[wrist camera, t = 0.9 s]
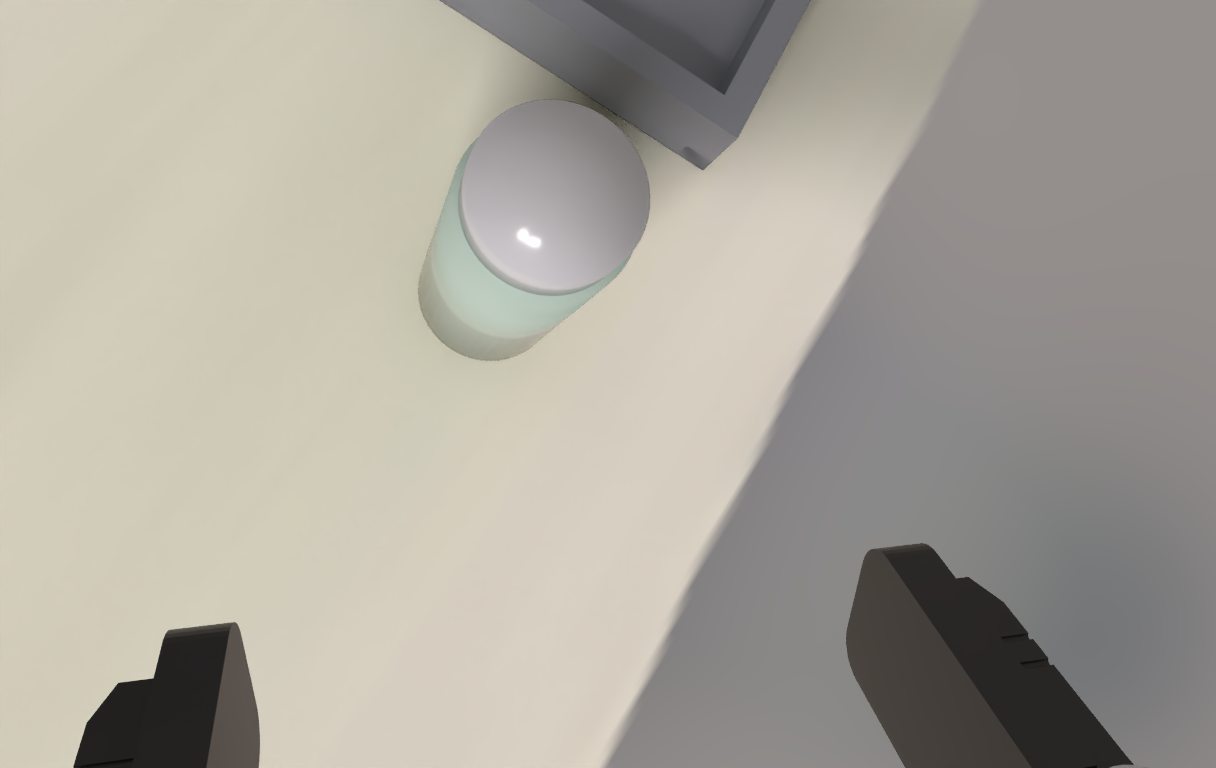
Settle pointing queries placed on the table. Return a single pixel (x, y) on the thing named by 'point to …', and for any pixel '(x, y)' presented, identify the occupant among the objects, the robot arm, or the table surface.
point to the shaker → (531, 228)
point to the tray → (654, 58)
